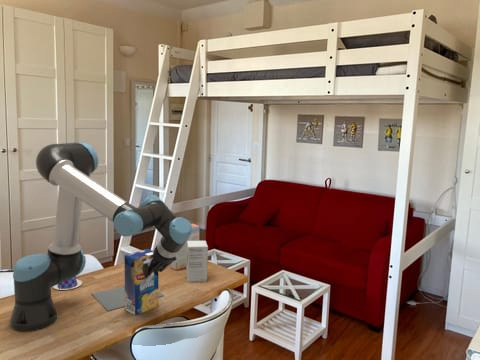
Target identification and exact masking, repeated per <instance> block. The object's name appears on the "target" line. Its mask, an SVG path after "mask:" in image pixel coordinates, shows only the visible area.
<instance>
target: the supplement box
mask: <svg viewBox="0 0 480 360" xmlns="http://www.w3.org/2000/svg"><path fill="white" fill-rule="evenodd" d="M208 251H209V246H208V244H207V241H206V240H199V241H187V268H186V272H185V273H186V280H187V282H189V283H191V282H192V283H193V282H196V281H197V282H208V257H209V256H208V255H209V254H208V253H209V252H208Z"/></svg>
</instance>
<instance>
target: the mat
mask: <svg viewBox="0 0 480 360" xmlns="http://www.w3.org/2000/svg"><path fill="white" fill-rule="evenodd" d="M91 296H92V297H93V298H94V299H95V300H96V301H97V302H98V303H99V304H100V305H101V306H102V307H103V308H104V309H105V311H106V312H110V311H114V310H119V309H121V308H125V285H124V286H120V287H116V288H111V289H107V290H104V291H98V292H94V293H91ZM162 297H165V295H164V294H163V293H161V292H160V291H159V290H158V299H159V298H162Z"/></svg>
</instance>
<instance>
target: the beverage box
mask: <svg viewBox="0 0 480 360" xmlns="http://www.w3.org/2000/svg"><path fill="white" fill-rule="evenodd" d="M153 252H154V250H153V249H149V248H146V249H142V250H138V251H135V252H131V253H127V254H125V255H124V257H123V258H124V259H123V260H124V286H125V307H124V310H125V311H127V312H129V313H130V314H132V315H134V316H137V315H141V314H143V313H145V312H147V311H150V310H153V309H154V308H157V307H159V298H158V291H159V274H158V275H157V276H153V277H152V279H151V280H150V282H148V283H146V278H145V276H144V273H143V270H142V268H143V261H142V260H143V259H146V260H147V259H150V257H151V256H152V255H153ZM150 263H151V262H150Z"/></svg>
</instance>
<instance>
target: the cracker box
mask: <svg viewBox="0 0 480 360" xmlns="http://www.w3.org/2000/svg"><path fill="white" fill-rule="evenodd" d="M191 225H192V233H191V235H190V237H189V239H188V241H200V225H198V224H195V223H191ZM169 266H170V268H171V269H173V270H174V271H180V270H184V269H187V241H186V243H185V244H184V245H183V246H182V248H181V249H180V250H179V252H178V253H177V255H176V260H175V261H173V262H172V263H171V264H170V265H169Z"/></svg>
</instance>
